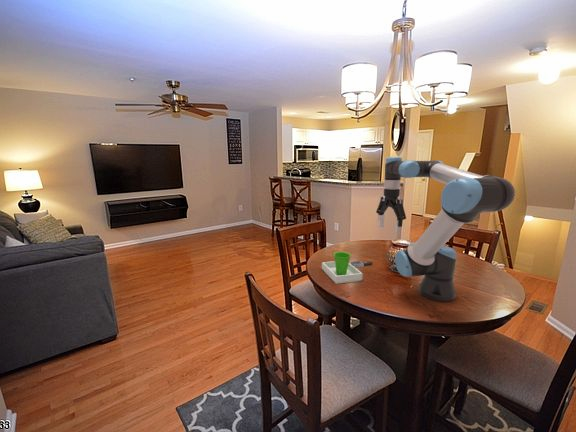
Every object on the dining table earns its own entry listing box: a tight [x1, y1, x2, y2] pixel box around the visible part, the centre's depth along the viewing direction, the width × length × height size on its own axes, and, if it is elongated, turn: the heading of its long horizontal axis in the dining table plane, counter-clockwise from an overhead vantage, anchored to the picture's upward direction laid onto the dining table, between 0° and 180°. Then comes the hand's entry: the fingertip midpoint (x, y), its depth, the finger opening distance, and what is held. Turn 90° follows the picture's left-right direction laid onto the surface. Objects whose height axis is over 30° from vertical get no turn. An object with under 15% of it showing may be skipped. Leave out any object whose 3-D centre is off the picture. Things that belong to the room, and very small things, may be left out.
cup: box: [333, 251, 352, 275], centre depth 152 cm, size 9×9×11 cm
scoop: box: [349, 260, 373, 269], centre depth 166 cm, size 12×5×2 cm, turn 105°
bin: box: [321, 260, 364, 285], centre depth 153 cm, size 20×15×4 cm
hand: (389, 229), depth 145 cm, fingers open, 13 cm apart
